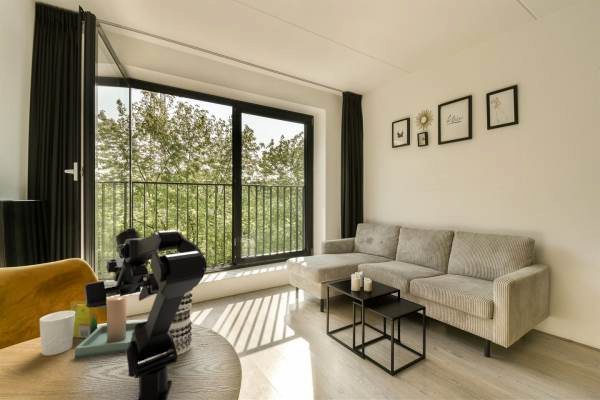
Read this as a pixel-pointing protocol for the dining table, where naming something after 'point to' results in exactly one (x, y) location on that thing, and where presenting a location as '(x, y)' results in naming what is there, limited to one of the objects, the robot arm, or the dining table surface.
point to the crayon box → (84, 319)
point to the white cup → (57, 332)
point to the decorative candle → (182, 325)
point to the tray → (104, 342)
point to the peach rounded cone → (116, 319)
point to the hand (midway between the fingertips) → (122, 303)
